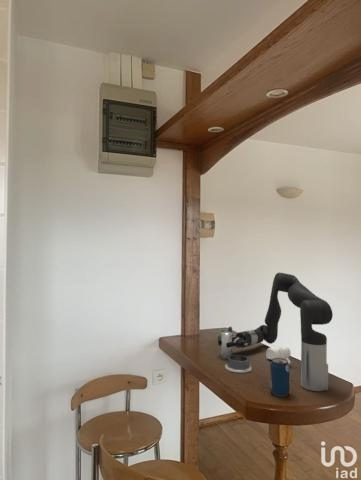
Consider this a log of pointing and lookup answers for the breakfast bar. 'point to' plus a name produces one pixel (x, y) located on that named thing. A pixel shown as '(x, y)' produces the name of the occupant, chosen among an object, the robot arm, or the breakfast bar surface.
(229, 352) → the pipe
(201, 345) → the breakfast bar surface
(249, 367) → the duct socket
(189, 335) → the breakfast bar surface
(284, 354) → the white crumpled piece
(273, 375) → the soda can
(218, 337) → the dark teal irregular lump
